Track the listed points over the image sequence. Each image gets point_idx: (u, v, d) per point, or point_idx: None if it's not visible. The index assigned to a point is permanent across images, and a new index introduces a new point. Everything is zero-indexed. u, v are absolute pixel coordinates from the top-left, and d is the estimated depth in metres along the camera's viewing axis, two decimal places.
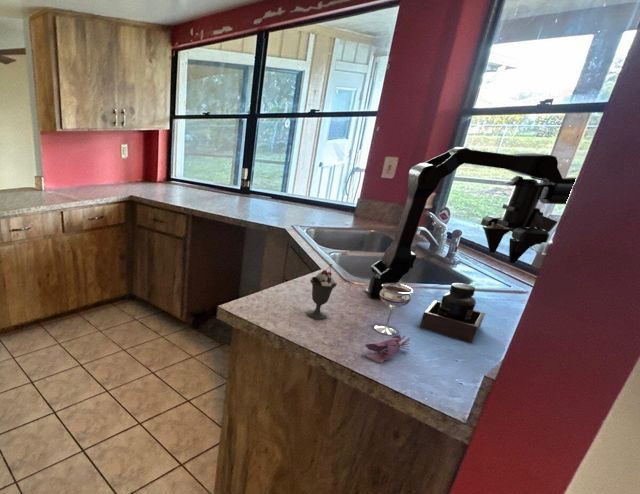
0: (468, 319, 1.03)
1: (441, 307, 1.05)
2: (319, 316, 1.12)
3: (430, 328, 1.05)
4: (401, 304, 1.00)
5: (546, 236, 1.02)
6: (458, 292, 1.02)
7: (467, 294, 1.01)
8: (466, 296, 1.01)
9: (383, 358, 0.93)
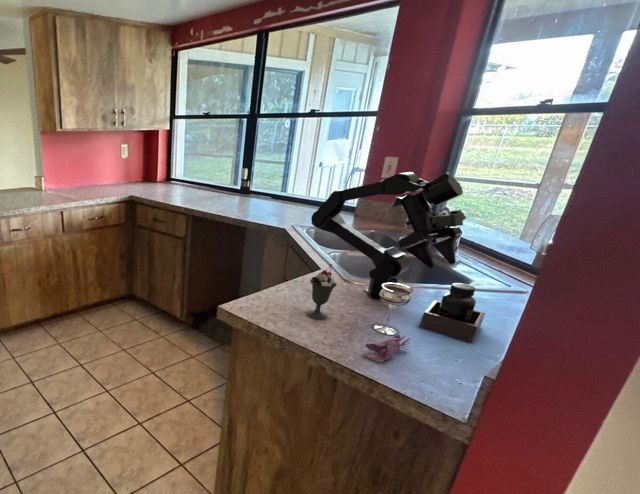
0: (468, 319, 1.03)
1: (441, 307, 1.05)
2: (319, 316, 1.12)
3: (430, 328, 1.05)
4: (401, 304, 1.00)
5: (415, 235, 1.05)
6: (458, 292, 1.02)
7: (467, 294, 1.01)
8: (466, 296, 1.01)
9: (383, 358, 0.93)
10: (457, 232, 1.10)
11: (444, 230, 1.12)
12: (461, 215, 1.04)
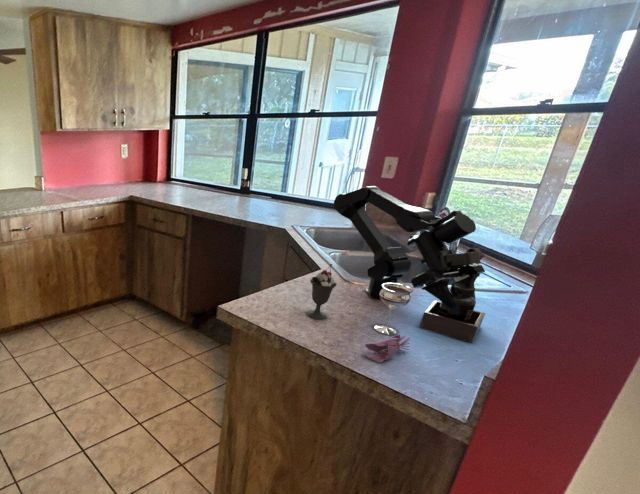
0: (468, 319, 1.03)
1: (441, 307, 1.05)
2: (319, 316, 1.12)
3: (430, 328, 1.05)
4: (401, 304, 1.00)
5: (427, 274, 1.02)
6: (458, 292, 1.02)
7: (467, 294, 1.01)
8: (466, 296, 1.01)
9: (383, 358, 0.93)
10: (479, 270, 1.05)
11: (464, 268, 1.07)
12: (477, 253, 0.99)
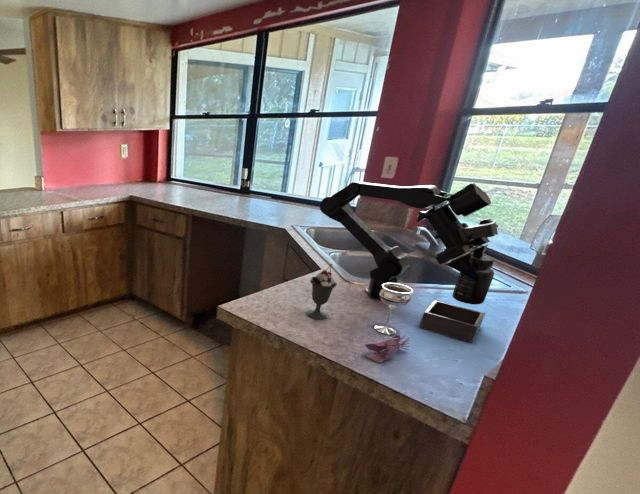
0: (488, 289, 1.05)
1: (462, 280, 1.06)
2: (319, 316, 1.12)
3: (430, 328, 1.05)
4: (401, 304, 1.00)
5: (457, 250, 1.00)
6: (481, 264, 1.02)
7: (489, 265, 1.02)
8: (488, 267, 1.02)
9: (383, 358, 0.93)
10: (486, 241, 1.08)
11: (472, 240, 1.09)
12: (495, 224, 1.01)
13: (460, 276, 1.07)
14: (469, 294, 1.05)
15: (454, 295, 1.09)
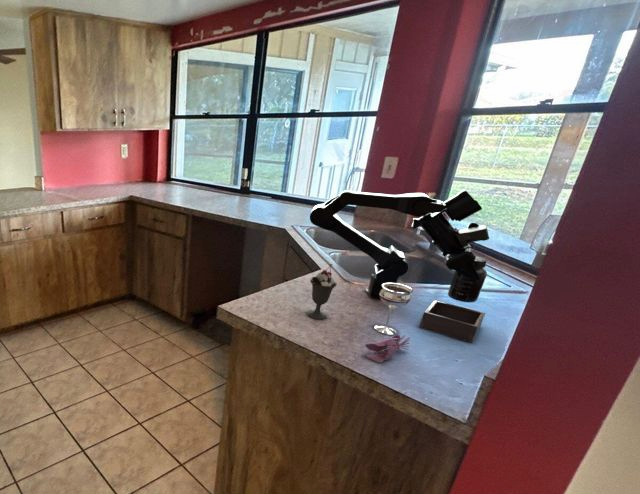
0: None
1: (462, 282, 1.12)
2: (319, 316, 1.12)
3: (430, 328, 1.05)
4: (401, 304, 1.00)
5: (468, 255, 1.04)
6: (478, 265, 1.09)
7: (484, 265, 1.10)
8: (483, 267, 1.10)
9: (383, 358, 0.93)
10: None
11: None
12: (485, 227, 1.09)
13: (458, 277, 1.13)
14: (469, 293, 1.12)
15: (453, 295, 1.15)
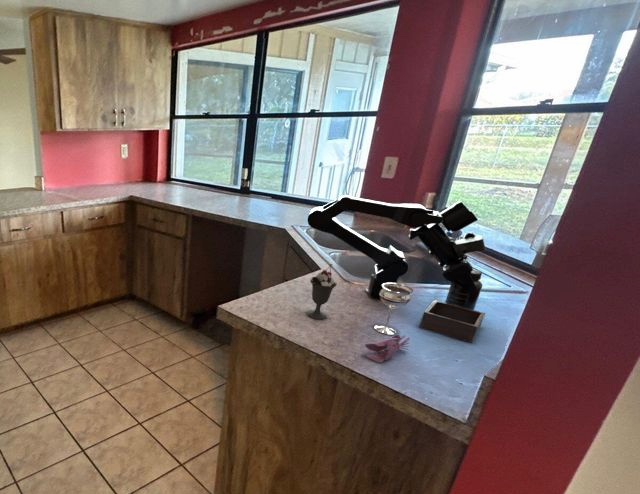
0: None
1: (457, 293, 1.13)
2: (319, 316, 1.12)
3: (430, 328, 1.05)
4: (401, 304, 1.00)
5: (464, 266, 1.05)
6: (474, 277, 1.11)
7: (479, 277, 1.11)
8: (478, 279, 1.11)
9: (383, 358, 0.93)
10: None
11: None
12: None
13: (454, 289, 1.14)
14: (465, 305, 1.13)
15: None
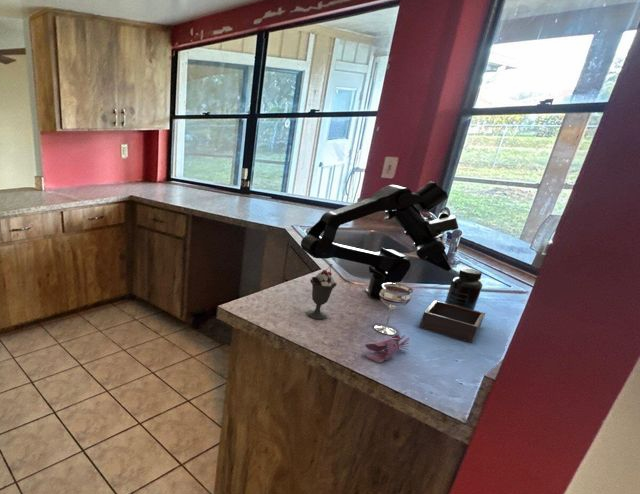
0: None
1: (457, 293, 1.13)
2: (319, 316, 1.12)
3: (430, 328, 1.05)
4: (401, 304, 1.00)
5: (437, 244, 1.07)
6: (474, 277, 1.11)
7: (479, 277, 1.11)
8: (478, 279, 1.11)
9: (383, 358, 0.93)
10: (440, 232, 1.19)
11: None
12: (455, 217, 1.11)
13: (454, 289, 1.14)
14: (465, 305, 1.13)
15: None
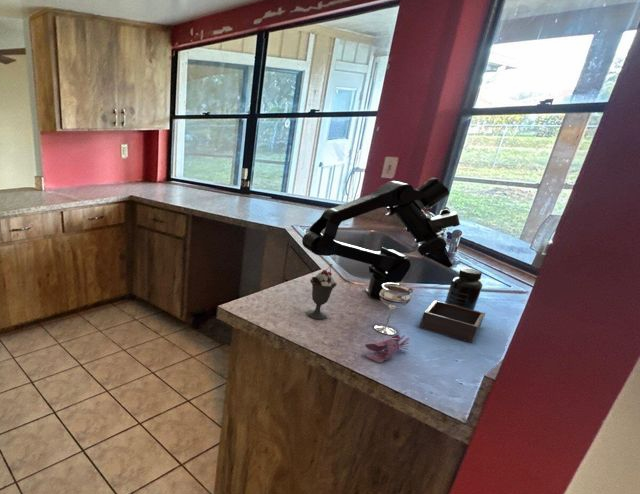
0: None
1: (457, 293, 1.13)
2: (319, 316, 1.12)
3: (430, 328, 1.05)
4: (401, 304, 1.00)
5: (438, 240, 1.07)
6: (474, 277, 1.11)
7: (479, 277, 1.11)
8: (478, 279, 1.11)
9: (383, 358, 0.93)
10: (441, 229, 1.18)
11: None
12: (456, 213, 1.11)
13: (454, 289, 1.14)
14: (465, 305, 1.13)
15: None
